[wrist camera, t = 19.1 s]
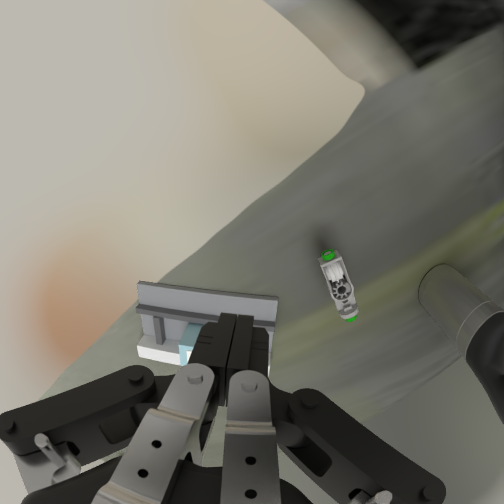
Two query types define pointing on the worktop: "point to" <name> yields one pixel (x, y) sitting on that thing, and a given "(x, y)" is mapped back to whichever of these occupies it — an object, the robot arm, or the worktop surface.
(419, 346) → the worktop surface
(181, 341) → the block
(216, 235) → the worktop surface
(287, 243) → the worktop surface
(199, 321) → the rail mount
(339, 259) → the mechanical component
